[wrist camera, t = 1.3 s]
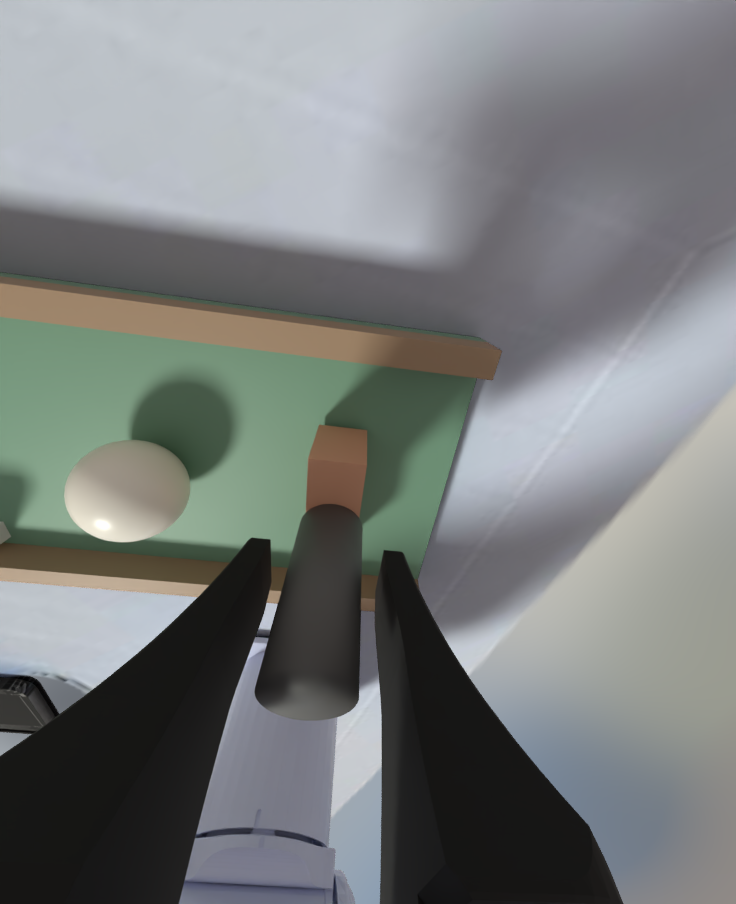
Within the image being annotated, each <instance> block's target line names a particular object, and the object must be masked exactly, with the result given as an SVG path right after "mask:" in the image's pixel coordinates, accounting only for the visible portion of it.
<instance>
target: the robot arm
mask: <svg viewBox="0 0 736 904" xmlns="http://www.w3.org/2000/svg"><path fill="white" fill-rule="evenodd" d="M271 583H272V575H271V539H262V538H250V539H249V540H248V541H247V542H246V543H245V545H244V546H243V547H242V548H241V550H240V551H239V552H238V553H237V554H236V556H235V557H234V558H233V559H232V560H231V562H230V563H229V564H228V565H227V566H226V567H225V568H224V570H223V571H222V572H221V573H220V574H219V575H218V576H217V577H216V578H215V579H214V581H213V582H212V583H211V584H210V585H209V586H208V587H207V588H206V589H205V590H204V591H203V592H202V593H201V595H200V596H199V597H198V598H197V599H196V600H195V601H194V602H193V603H192V604H191V605H190V606H189V607H188V608H186V609H185V610H184V611H183V612H182V613H181V614H180V615H179V616H178V617H177V618H176V619H175V620H174V621H173V622H172V623H171V624H170V625H169V626H168V627H167V628H166V629H165V630H164V631H162V632H161V633H160V634H159V635H158V636H157V637H156V638H155V639H154V640H152V641H151V642H150V643H149V644H148V645H147V646H146V647H144V648H143V649H142V650H141V651H140V652H139V653H137V654H136V655H135V656H134V657H133V658H131V659H130V660H129V661H128V662H127V663H125V664H124V665H123V666H122V667H120V668H119V669H118V670H117V671H116V672H114V673H113V674H112V675H111V676H109V677H108V678H107V679H106V680H104V681H103V682H102V683H101V684H99V685H98V686H97V687H96V688H94V689H93V690H92V691H90V692H89V693H88V694H86V695H85V696H84V697H82V698H81V699H80V700H78V701H77V702H76V703H74V704H73V705H71V706H70V707H69V708H67V709H66V710H65V711H63V712H62V713H61V714H59V715H58V716H56V717H55V718H54V719H52V720H51V721H50V722H48V723H47V724H46V725H44V726H43V727H41V728H40V729H39V730H37V731H36V732H35V733H33V734H32V735H30V736H29V737H27V738H26V739H25V740H23V741H22V742H20V743H19V744H17V745H16V746H14V747H13V748H11V749H10V750H8V751H7V752H5V753H4V754H3V755H1V756H0V904H355V900H354V896H353V893H352V891H351V889H350V887H349V885H348V883H347V879H346V876H345V874H344V872H342V871H341V870H334V866H335V849H334V848H328V845H329V831H330V817H331V802H332V788H333V774H334V759H335V745H336V731H337V717H336V718H332V719H327V720H318V721H305V720H296V719H290V718H286V717H283V716H280V715H277V714H275V713H272V712H270V711H269V710H267V709H266V708H264V707H263V706H262V705H261V704H260V703H259V702H258V701H257V699H256V697H255V693H254V692H255V686H256V682H257V679H258V675H259V671H260V668H261V664H262V660H263V657H264V653H265V649H266V646H267V642H268V638H262V637H255V636H256V634H257V631H258V628H259V625H260V623H261V620H262V617H263V614H264V611H265V607H266V603H267V599H268V595H269V591H270V587H271ZM375 633H376V646H377V658H378V670H379V683H380V695H381V713H382V818H381V819H382V820H381V884H380V904H623V902H622V899H621V897H620V894H619V892H618V889H617V887H616V885H615V882H614V879H613V877H612V875H611V872H610V870H609V867H608V865H607V863H606V861H605V858H604V856H603V854H602V852H601V850H600V848H599V846H598V844H597V842H596V840H595V838H594V836H593V834H592V831H591V829H590V827H589V826H588V824H587V823H586V822H585V821H584V820H583V819H582V818H581V817H580V816H579V814H578V813H577V812H576V811H575V810H574V809H573V808H572V807H571V805H570V804H569V803H568V802H567V801H566V800H565V799H564V798H563V797H562V795H561V794H560V793H559V792H558V791H557V790H556V788H555V787H554V786H553V785H552V784H551V783H550V781H549V780H548V779H547V778H546V777H545V776H544V774H543V773H542V772H541V771H540V770H539V769H538V767H537V766H536V765H535V764H534V762H533V761H532V760H531V759H530V758H529V756H528V755H527V754H526V753H525V752H524V750H523V749H522V748H521V747H520V745H519V744H518V743H517V742H516V741H515V739H514V738H513V737H512V735H511V734H510V733H509V731H508V730H507V729H506V727H505V726H504V725H503V724H502V722H501V721H500V720H499V718H498V717H497V716H496V714H495V713H494V712H493V710H492V709H491V708H490V706H489V705H488V704H487V702H486V701H485V700H484V698H483V697H482V695H481V694H480V693H479V691H478V690H477V688H476V687H475V685H474V684H473V683H472V681H471V680H470V678H469V677H468V675H467V673H466V672H465V670H464V669H463V667H462V666H461V664H460V663H459V661H458V660H457V658H456V656H455V655H454V653H453V652H452V650H451V648H450V647H449V645H448V643H447V642H446V640H445V638H444V636H443V635H442V633H441V631H440V629H439V628H438V626H437V624H436V622H435V620H434V618H433V617H432V615H431V613H430V611H429V609H428V607H427V605H426V603H425V601H424V599H423V597H422V595H421V593H420V591H419V588H418V586H417V584H416V582H415V580H414V577H413V575H412V573H411V570H410V568H409V565H408V563H407V560H406V557H405V555H404V553H403V552H400V551H389V550H384V551H383V556H382V561H381V566H380V571H379V576H378V580H377V585H376V590H375Z"/></svg>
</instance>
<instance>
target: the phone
mask: <svg viewBox="0 0 736 904" xmlns="http://www.w3.org/2000/svg"><path fill="white" fill-rule="evenodd" d="M58 715H59V712H58V711H57V709H56V707H55V706H54V704H53V702H52V701H51V699H50V697H49V696H48V694H47V692H46V691H45V689H44V688H43V686H42V684H41V683H40V682H39V681H38V680H37V679H35V678H33V677H31V676H28V675H17V676H10V677H0V732H9V733H23V734H33V733H35V732H36V731H37V730H39V729H40V728H41V727H43V726H44V725H46V724H47V723H48V722H50V721H51V720H52V719H54V718H55V717H56V716H58Z"/></svg>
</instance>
